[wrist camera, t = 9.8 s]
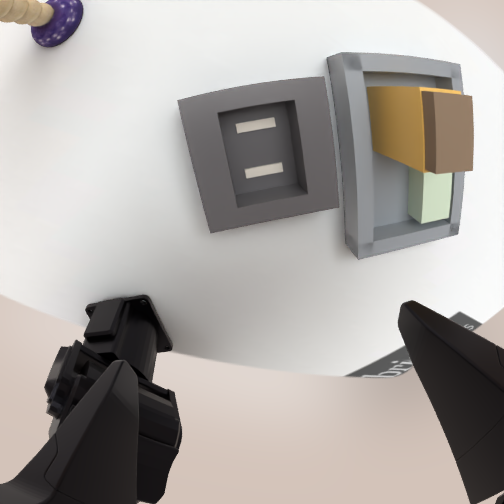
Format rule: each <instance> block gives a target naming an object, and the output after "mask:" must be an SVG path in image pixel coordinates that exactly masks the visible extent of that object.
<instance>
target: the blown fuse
mask: <svg viewBox="0 0 504 504" xmlns="http://www.w3.org/2000/svg"><path fill="white" fill-rule="evenodd" d="M367 94H368V102H369V111H370V121H371V132H372V145H373V151H375V152H378V153H380V154H382V155H385V156H387V157H389V158H392V159H394V160H396V161H399V162H401V163H403V164H405V165H408V166H410V167H412V168H414V169H416V170H418V171H420V172H422V173H427V172H432V173H434V174H444V173H454V172H463V171H473V147H474V127H473V103H472V96H468V95H461V91H456V90H448V89H438V88H428V87H409V86H369V87H367Z"/></svg>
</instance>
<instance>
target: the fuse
mask: <svg viewBox="0 0 504 504" xmlns="http://www.w3.org/2000/svg"><path fill="white" fill-rule="evenodd" d="M451 187H452V173H444V174H434V173H432V172H427V173H422V172H420V171H418V170H416V169H414V168H412V167H410V166H409V193H408V214H409V215H410V216H412V217H413V218H414V219H416V220H417V221H418V222H420V223H421V224H423V223H427V222H432V221H436V220H441V219H445V218H449V210H450V200H451Z"/></svg>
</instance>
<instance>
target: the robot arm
mask: <svg viewBox="0 0 504 504" xmlns="http://www.w3.org/2000/svg"><path fill="white" fill-rule="evenodd" d="M142 300H144V301H146V302H143V301H142ZM91 310H92V311H91ZM85 311H86V313H87V315H88V316H89V318H90V321H89V323H88V326H87V328H86V330H85V333H84V337H85V340H84V343H83V345H82V343H81V342H79V341H78V340H75V342H74V344H73V345H72V346H69V347H61V348H60V350H59V352H58V354H57V356H56V359H55V361H54V363H53V366H52V368H51V370H50V373H49V376H48V378H47V381H46V384H45V387H44V388H45V391H46V393H47V396H48V399H47V403H48V407H47V412H46V413H47V414H49V415H51V416H53V420H52V423H51V427H50V429H49V440H48V442H47V443H46V444H45V445H44V446H43V448H42V449H41V450H40V451H39V452H38V453H37V455H36V456H35V457H34V458H33V459H32V460H31V461H30V462H29V463H28V464H27V465H26V466H25V467H24V469H23V470H22V471H21V472H20V473H19V474H18V475H17V476H16V477H15V478H14V479H12V480H11V481H9V482H7V483H3V484H0V504H137V503H138V502H140V501H141V502H145V503H150V504H156V503H157V502H158V501H159V500H160V499H161V497H162V496H163V495H164V493H165V488H166V483H167V478H168V474H169V471H170V468H171V466H172V463H173V461H174V459H175V457H176V456H177V454H178V452H179V447H180V444H181V439H182V426H181V422H180V417H179V413H178V408H177V403H176V398H175V393H174V392H173V391H171V390H169V389H167V390H166V389H164V388H162V387H160V386H158V385H156V384H154V383H152V379H153V373H154V367H155V361H156V355H157V353H160V352H168V351H171V350H172V347H173V345H172V342H171V340H170V339H169V337H168V335H167V333H166V331H165V329H164V327H163V325H162V323H161V321H160V319H159V317H158V315H157V313H156V311H155V309H154V306H153V304H152V302H151V300H150V298H149V297H148V296H146V295H139V296H134V297H128V298H118V299H113V300H107V301H102V302H98V303H94V304H89V305H87V307H86V309H85ZM398 327H399V330H400V333H401V335H402V338H403V340H404V343H405V345H406V348H407V351H408V353H409V356H410V359H411V361H412V364H413V366H414V368H415V370H416V372H417V374H418V376H419V378H420V380H421V382H422V384H423V387H424V389H425V391H426V393H427V395H428V397H429V399H430V401H431V403H432V406H433V408H434V410H435V412H436V415H437V417H438V419H439V421H440V424H441V426H442V428H443V431H444V433H445V435H446V438H447V440H448V443H449V445H450V447H451V450H452V453H453V455H454V458H455V460H456V463H457V466H458V469H459V472H460V474H461V477H462V480H463V483H464V486H465V489H466V492H467V495H468V498H469V501H470V504H477V503H479V502H481V501H484V500H486V499H488V498H490V497H492V496H494V495H496V494H498V493H500V492H501V491H503V490H504V349H503V348H501V347H499V346H496V345H495V344H494V343H492V342H490V341H488V340H487V339H485V338H483V337H481V336H479V335H478V334H475V333H474V332H472V331H470V330H468V329H467V328H465V327H463V326H461V325H459V324H457V323H455V322H454V321H452V320H450V319H448V318H446V317H444V316H442V315H441V314H439V313H437V312H435V311H433V310H431V309H429V308H427V307H425V306H423V305H421V304H420V303H418V302H416V301H413V300H411V301H408V302H405V303H403V304H402V305H401V307H400V313H399V318H398ZM167 346H168V347H167ZM495 504H504V493H503V494H502V495H500V496H499V497H498V498H497V500H496V503H495Z"/></svg>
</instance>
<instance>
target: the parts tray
mask: <svg viewBox="0 0 504 504" xmlns="http://www.w3.org/2000/svg"><path fill="white" fill-rule="evenodd" d="M327 62H328V67H329V73H330V79H331V85H332V91H333V98H334V105H335V112H336V120H337V128H338V136H339V146H340V156H341V167H342V179H343V193H344V211H345V236H346V245H347V246H348V247H349V248H350V250H351V251H352V252H353V254H354V255H355V256H356V257H357V259H358V260H359V259H363V258H367V257H371V256H375V255H379V254H384V253H388V252H392V251H396V250H400V249H404V248H408V247H412V246H416V245H419V244H423V243H427V242H431V241H435V240H439V239H442V238H446V237H450V236H454V235H457V234H458V231H459V225H460V217H461V209H462V200H463V189H464V175H465V171H463V172H454V173H452V187H451V200H450V210H449V218H445V219H441V220H436V221H432V222H427V223H423V224H421V223H420V222H418V221H417V220H416V219H414V218H413V217H412V216H410V215H409V214H408V193H409V166H408V165H405V164H403V163H401V162H399V161H396V160H394V159H392V158H389V157H387V156H385V155H382V154H380V153H378V152H375V151H373V145H372V132H371V121H370V111H369V102H368V94H367V87H369V86H409V87H428V88H438V89H448V90H456V91H461V95H464V94H463V83H462V75H461V67H460V64H456V63H451V62H446V61H440V60H434V59H428V58H421V57H413V56H404V55H393V54H379V53H351V52H341V53H338V54H335V55H333V56H330V57H327Z"/></svg>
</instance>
